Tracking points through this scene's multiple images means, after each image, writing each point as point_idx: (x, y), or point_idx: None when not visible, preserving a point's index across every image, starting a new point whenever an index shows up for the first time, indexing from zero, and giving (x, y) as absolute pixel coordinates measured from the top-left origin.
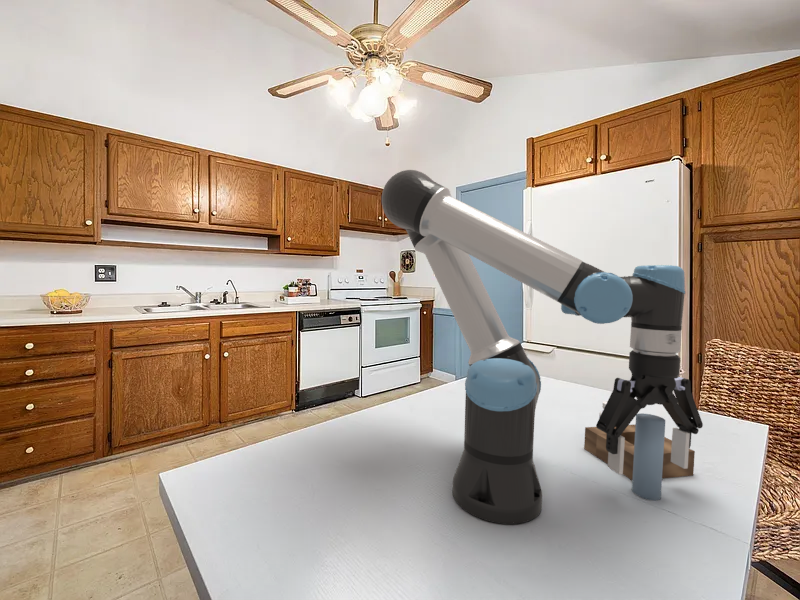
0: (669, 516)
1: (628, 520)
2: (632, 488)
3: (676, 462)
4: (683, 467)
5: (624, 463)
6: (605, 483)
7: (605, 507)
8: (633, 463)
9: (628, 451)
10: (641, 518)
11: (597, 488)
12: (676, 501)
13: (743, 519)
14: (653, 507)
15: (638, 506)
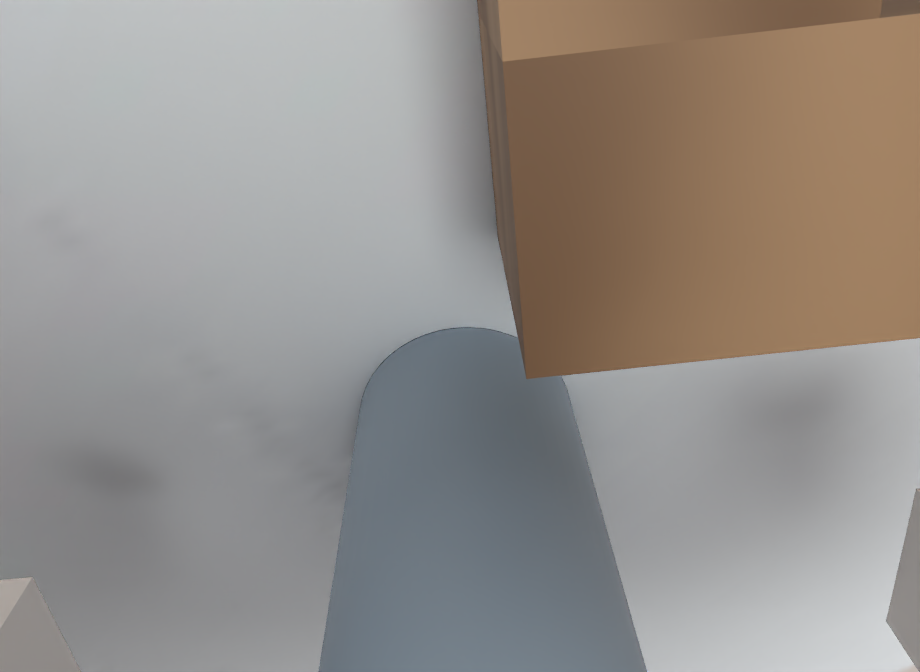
0: None
1: (113, 665)
2: (363, 399)
3: (917, 569)
4: (890, 625)
5: (496, 143)
6: (171, 267)
7: (12, 563)
8: (347, 556)
9: (539, 245)
10: (212, 652)
11: (49, 344)
12: (622, 515)
13: (871, 665)
14: None
15: (275, 558)
